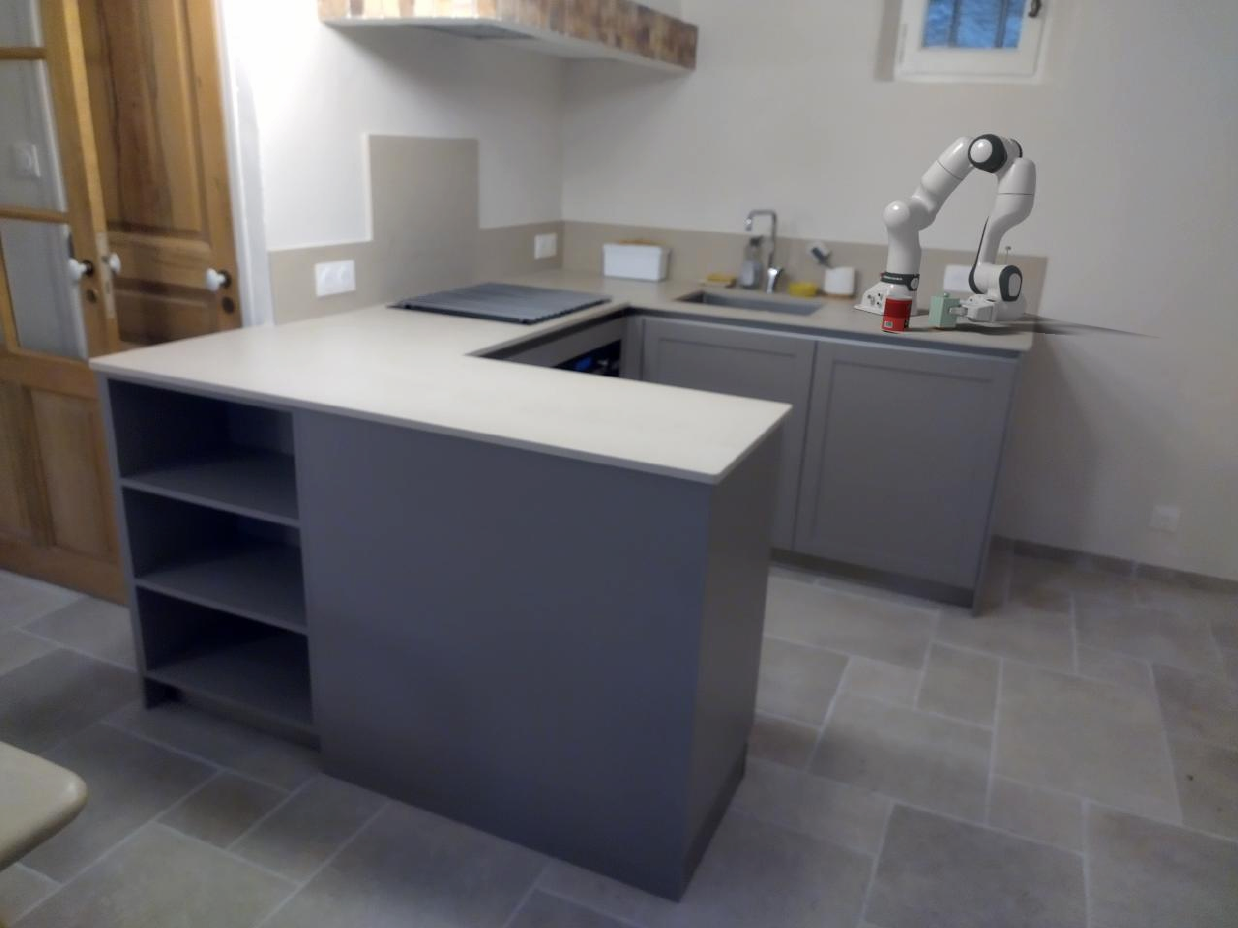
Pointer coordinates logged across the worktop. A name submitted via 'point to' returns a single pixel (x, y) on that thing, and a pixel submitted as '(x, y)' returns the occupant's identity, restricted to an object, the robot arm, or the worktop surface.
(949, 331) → the trivet
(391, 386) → the worktop surface
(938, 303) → the mint green square bottle
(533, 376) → the worktop surface
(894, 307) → the canned food
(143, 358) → the worktop surface
